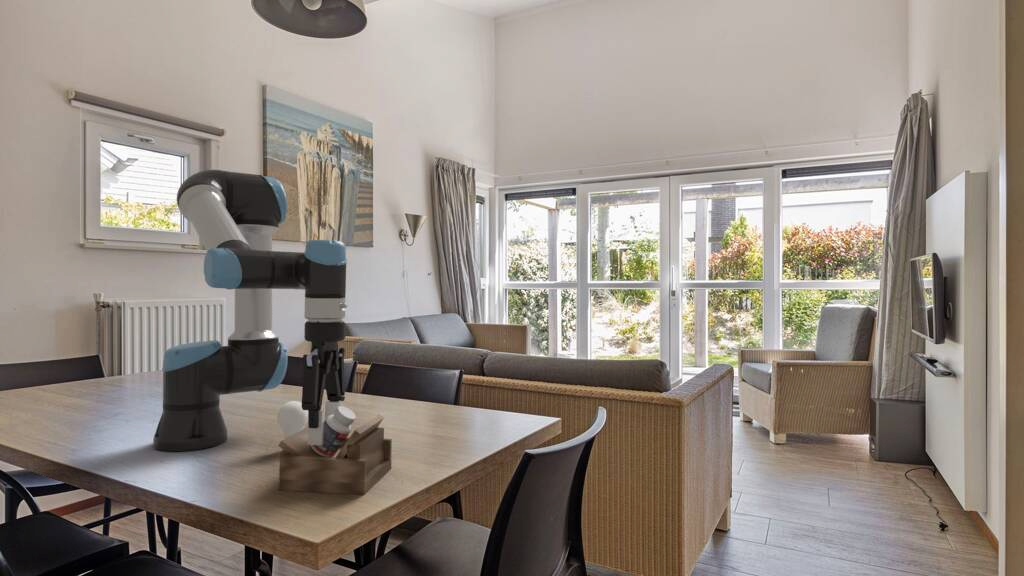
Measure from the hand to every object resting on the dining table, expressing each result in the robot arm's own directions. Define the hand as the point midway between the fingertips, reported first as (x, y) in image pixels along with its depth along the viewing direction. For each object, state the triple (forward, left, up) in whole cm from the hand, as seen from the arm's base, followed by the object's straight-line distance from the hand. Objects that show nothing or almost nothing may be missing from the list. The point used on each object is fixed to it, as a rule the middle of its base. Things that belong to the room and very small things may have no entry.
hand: (324, 439), depth 111 cm
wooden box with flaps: (+3, 0, -7) cm, 8 cm away
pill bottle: (0, 0, -2) cm, 2 cm away
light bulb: (-15, +17, -8) cm, 24 cm away
